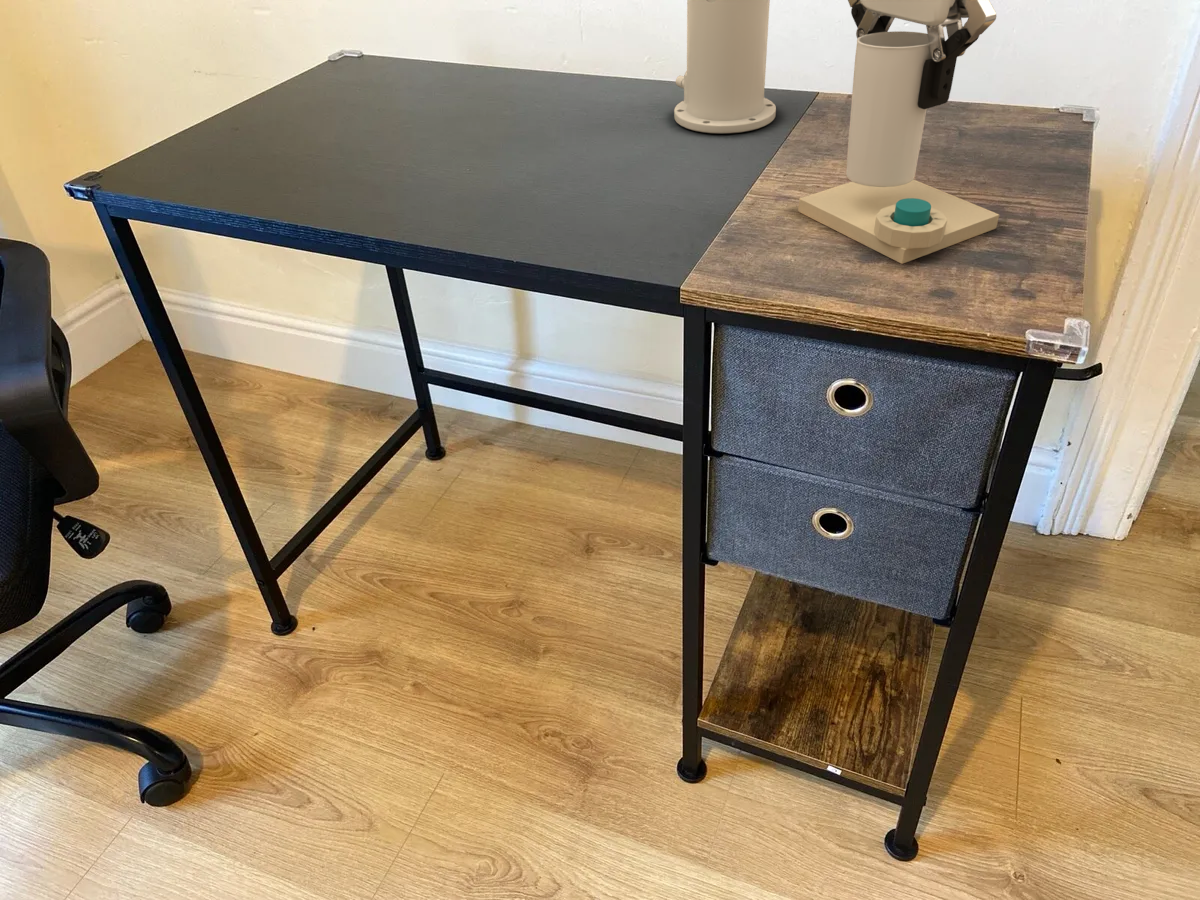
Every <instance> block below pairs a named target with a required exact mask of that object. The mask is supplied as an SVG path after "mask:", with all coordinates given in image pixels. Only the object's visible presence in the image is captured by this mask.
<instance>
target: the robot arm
mask: <svg viewBox="0 0 1200 900" xmlns="http://www.w3.org/2000/svg"><path fill="white" fill-rule="evenodd" d="M770 2H771V0H686V71H685V72H684V74H683V75H678V76H677V77H676V79H675V85H676V86H677V87H679V88H681V89H683V100H682V101H680V102H678V103H677V105H675V107H674V109H673V115H674V116H673V118H674V120H675V122H676V123H677V124H678V125H680V126H681V127H683V128H685V129H687V130H691V131H695V132H699V133H705V134H706V133H707V134H738V133H745V132H750V131H755V130H758V129H761V128H764V127H765V126H767V125H769V124H771V123H772V122H774V120H775V118H776V113H777V107H776V104H775V103H774V102H773V101H772V100H770V99H768V98H767V97H765V87H766V86H765V85H766V72H767V71H766V69H767V57H768V56H767V53H768V36H769V22H770V21H769V18H770V5H771V4H770ZM847 2H848V4H849V7H850V8H851V10H850V13H851V17H852V19H853V21H854V24H855V25H856V28H857V29H856V31H855V32H856V33H855V36H856V40H857V39H858V38H859V37H861V36H864V35H868V34H872V33H880V32H889V30H890V28H891V26H892V24H893V22H894V20H895V19H898V20H903V21H906V22H911V23H915V24H920V25H923V26H925V28H926V34H928V39H929V45H930V51H931V56H932V59H929V60H925V63H924V67H923V73H922V79H921V85H920V91H919V97H918V107H919V108H921V109H931V108H934V107H937V106H941V105H945V104H947V103H948V101H949V100H950V94H951V91H952V85H953V81H954V75H955V70H956V65H957V61H958V60H957V59H958V57H963V55H965V53H966V51H967V49H969V48H970V47H971V46H972V45H973V44H974V43H976V42H977V40H979V38H980V35H982V34H983V33H984V32H986V30H987V29H988V28H989V27H991V25H992V24H993V23H994V22H995V21H996V19H997V12H996V10H995V8H994V6H993V4H992V2H991V1H990V0H847ZM967 18H968V19H967ZM962 19H967V20H966V22H965V23H964V25H963V21H962ZM944 28H945V29H946V35H947V39H946V36H945V32H944Z"/></svg>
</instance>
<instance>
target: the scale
mask: <svg viewBox="0 0 1200 900" xmlns="http://www.w3.org/2000/svg"><path fill="white" fill-rule="evenodd" d="M907 198H916V199H922V200H925V201H927V202H929V203H930V204H931V211H930V217H929V222H928V224H926V225H924V226H913V227H912V226H906V225H900V224H898V223H896V222H894V220H893V219H894V213H895V207H896V203H897V202H898V201H899V200H902V199H907ZM797 211H798V213H800V214H802V215H804V216H806V217H808V218H809V219H812V220H814V221H816V222H818V223H820V224H822V225H823V226H826V227H827V228H830V229H832V230H834V231H835V232H837V233H839V234H842V235H844V236H846V237H847V238H850V239H852V240H854V241H855V242H857V243H859V244H862V245H863V246H866V247H867V248H869V249H871V250H873V251H876V252H877V253H880V254H881V255H884V256H885V257H887V258H890V259H891V260H893V261H895V262H897V263H899V264H902V265H903V264H906V263H909V262H911V261H914V260H916V259H918V258H919V259H920V258H921V257H924V256H927V255H930V254H932V253H935V252H938V251H940V250H942V249H945V248H948V247H951V246H954V245H957V244H959V243H961V242H963V241H967V240H969V239H972V238H975V237H977V236H980V235H983V234H985V233H987V232H990V231H993V230H996V229H997V227H998V222H999V218H1000V213H997V212H994V211H992V210H989V209H987V208H985V207H982V206H980V205H978V204H975V203H972V202H970V201H967V200H965V199H963V198H961V197H957V196H956V195H952V194H950V193H947V192H945V191H943V190H940V189H938V188H935V187H933V186H930V185H928V184H926V183H924V182H921V181H919V180H916V179H915V178H914V179H913V180H912V181H911V182H909V183H907V184H904V185H900V186H893V187H872V186H865V185H860V184H857V183H854V182H852V181H849V182H846V183H842V184H840V185H837V186H834V187H830V188H828V189H824V190H822V191H818V192H815V193H812V194H808V195H806V196H802V197H799V198H798V208H797Z"/></svg>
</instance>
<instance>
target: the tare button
mask: <svg viewBox="0 0 1200 900" xmlns="http://www.w3.org/2000/svg"><path fill="white" fill-rule="evenodd" d="M930 211H931V204H930V203H929V202H927V201H925V200H922V199H916V198H907V199H902V200H899V201H898V202H897V203H896V207H895V213H894V219H893V220H894V222H896V223H898V224H900V225H906V226H912V227H913V226H924V225H926V224H928V222H929V217H930Z"/></svg>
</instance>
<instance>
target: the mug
mask: <svg viewBox="0 0 1200 900" xmlns="http://www.w3.org/2000/svg"><path fill="white" fill-rule="evenodd" d="M929 59H932V56H931V51H930V45H929V39H928V33H927V32H926V33H925V32H918V31H905V30H904V31H903V30H902V31H901V30H899V31H896V30H895V31H888V32H880V33H872V34H868V35H864V36H861V37H859V38H858V39H857V38H856V47H855V56H854V67H853V79H852V92H851V105H850V116H849V117H850V118H849V128H848V129H849V130H848V140H847V152H846V153H847V156H846V170H845V174H846V178H847V179H848V180H849V182H854V183H857V184H860V185H865V186H872V187H893V186H900V185H904V184H907V183H909V182H911V181H912V180H913V179H914V180H915V176H916V172H917V166H918V160H919V157H920V156H919V155H920V150H921V146H922V139H923V133H924V127H925V121H926V115H927V109H921V108H919V107H918V97H919V91H920V85H921V79H922V73H923V67H924V63H925V60H929Z"/></svg>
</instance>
